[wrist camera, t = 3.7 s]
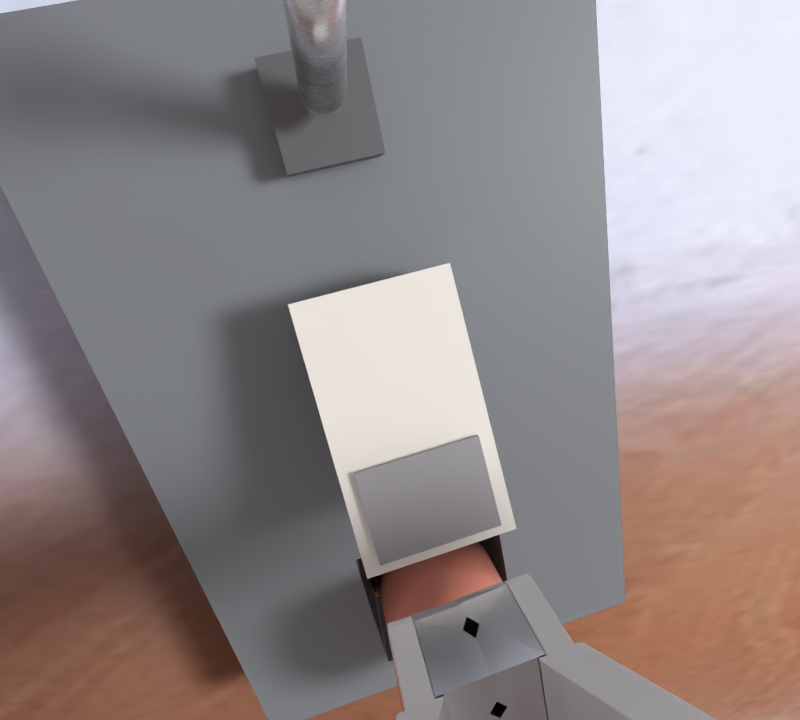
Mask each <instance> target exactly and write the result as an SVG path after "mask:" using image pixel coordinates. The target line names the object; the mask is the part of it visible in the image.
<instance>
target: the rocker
mask: <svg viewBox="0 0 800 720" xmlns="http://www.w3.org/2000/svg"><path fill="white" fill-rule="evenodd" d="M288 307H289V310H290V314H291V317H292V321H293V324H294V328H295V331H296V335H297V338H298V341H299V345H300V348H301V352H302V355H303V359H304V362H305V366H306V369H307V372H308V376H309V379H310V383H311V386H312V390H313V393H314V397H315V400H316V403H317V407H318V410H319V414H320V417H321V421H322V424H323V428H324V431H325V435H326V438H327V441H328V445H329V448H330V452H331V455H332V459H333V462H334V466H335V469H336V472H337V476H338V479H339V483H340V486H341V490H342V493H343V497H344V500H345V503H346V507H347V510H348V514H349V517H350V521H351V524H352V528H353V531H354V534H355V538H356V541H357V545H358V548H359V552H360V555H361V559H362V562H363V566H364V569H365V572H366V576H367V579H369V578H372V577H375V576H378V575H381V574H384V573H387V572H390V571H393V570H396V569H398V568H401V567H404V566H407V565H410V564H413V563H416V562H419V561H422V560H425V559H428V558H431V557H434V556H437V555H440V554H443V553H446V552H449V551H452V550H455V549H458V548H461V547H464V546H467V545H470V544H473V543H476V542H479V541H482V540H485V539H488V538H491V537H494V536H497V535H500V534H503V533H506V532H509V531H512V530H514V529H517V528H516V524H515V520H514V516H513V512H512V508H511V504H510V500H509V496H508V492H507V488H506V484H505V480H504V476H503V472H502V468H501V464H500V460H499V456H498V453H497V449H496V445H495V441H494V437H493V433H492V429H491V425H490V421H489V417H488V413H487V409H486V405H485V401H484V397H483V393H482V389H481V385H480V381H479V377H478V373H477V369H476V365H475V361H474V357H473V353H472V349H471V345H470V341H469V337H468V333H467V329H466V325H465V321H464V317H463V313H462V309H461V305H460V301H459V297H458V293H457V289H456V285H455V281H454V277H453V273H452V269H451V265H450V263H447V264H443V265H439V266H436V267H432V268H428V269H424V270H420V271H416V272H412V273H408V274H405V275H401V276H397V277H393V278H389V279H385V280H381V281H377V282H373V283H370V284H366V285H362V286H358V287H354V288H350V289H346V290H342V291H339V292H335V293H331V294H327V295H323V296H319V297H315V298H311V299H308V300H304V301H300V302H296V303H292V304H288Z"/></svg>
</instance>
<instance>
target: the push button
mask: <svg viewBox="0 0 800 720" xmlns="http://www.w3.org/2000/svg"><path fill="white" fill-rule="evenodd" d="M500 582H503V581H502V580H501V578H500V576H499V574H498V572H497V570H496V568H495V566H494V565H493V563H492V561H491V559H490V557H489V555H488V553H487V551H486V550H485V549H484V547H483V546H482V545H481V544H480V543H479V542H476V543H473V544H470V545H467V546H464V547H461V548H458V549H455V550H452V551H449V552H446V553H443V554H440V555H437V556H434V557H431V558H428V559H425V560H422V561H419V562H416V563H413V564H410V565H407V566H404V567H401V568H398V569H396V570H393V571H390V572H387V573H384V574H382V576H381V580H380V587H379V588H380V597H381V602H382V607H383V612H384V617H385V622H386V627H387V633H388V626H387V624H388V623H390V622H393V621H396V620H399V619H402V618H405V617H408V616H410V615H413V614H416V613H419V612H422V611H425V610H428V609H431V608H434V607H437V606H440V605H443V604H446V603H449V602H452V601H455V600H458V598H460V597H463V596H466V595H468V594H471V593H474V592H476V591H479V590H481V589H484V588H487V587H489V586H492V585H495V584H497V583H500ZM412 618H413V616H412ZM413 622H414V620H413ZM414 625H415V624H414ZM416 632H417V631H416ZM388 638H389V635H388ZM389 643H390V640H389ZM390 648H391V645H390ZM391 653H392V649H391ZM392 658H393V654H392ZM393 663H394V659H393ZM394 668H395V663H394ZM395 673H396V668H395ZM396 678H397V673H396ZM397 683H398V688H399V693H400V698H401V703H402V708H403V711H405V710H404V706H403V701H402V696H401V692H400V687H399V682H398V678H397Z"/></svg>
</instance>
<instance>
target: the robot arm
mask: <svg viewBox="0 0 800 720" xmlns="http://www.w3.org/2000/svg"><path fill="white" fill-rule="evenodd" d="M412 616H413V618H412ZM413 620H414V622H413ZM414 624H415V625H414ZM387 626H388V635H389V640H390V645H391V649H392V654H393V659H394V663H395V668H396V673H397V678H398V682H399V687H400V692H401V696H402V701H403V706H404V710H405V711H403V712H401V713H398V714H397V715H396V719H395V720H717V719H715V718H713V717H711V716H710V715H708V714H706V713H704V712H703V711H701V710H699V709H698V708H696V707H694V706H692V705H691V704H689V703H687V702H685V701H684V700H682V699H680V698H678V697H677V696H675V695H673V694H672V693H670V692H668V691H666V690H665V689H663V688H661V687H659V686H658V685H656V684H654V683H652V682H651V681H649V680H647V679H646V678H644V677H642V676H640V675H639V674H637V673H635V672H633V671H632V670H630V669H628V668H626V667H625V666H623V665H621V664H620V663H618V662H616V661H614V660H613V659H611V658H609V657H607V656H606V655H604V654H602V653H600V652H599V651H597V650H595V649H594V648H592V647H590V646H588V645H587V644H585V643H583V642H580V643H577V644H574V643H573V641H572V640H571V638H570V636H569V635H568V633H567V632H566V630H565V629H564V627H563V626H562V624H561V622H560V621H559V619H558V618H557V616H556V615H555V613H554V611H553V610H552V608H551V607H550V605H549V604H548V602H547V601H546V599H545V597H544V596H543V594H542V593H541V591H540V590H539V588H538V586H537V585H536V583H535V582H534V580H533V579H532V577H531V576H530V575H528V574H527V573H526V574H523V575H521V576H518V577H515V578H512V579H510V580H507V581H504V582H500V583H497V584H495V585H492V586H489V587H487V588H484V589H481V590H479V591H476V592H474V593H471V594H468V595H466V596H463V597H460V598H458V600H455V601H452V602H449V603H446V604H443V605H440V606H437V607H434V608H431V609H428V610H425V611H422V612H419V613H416V614H413V615H410V616H408V617H405V618H402V619H399V620H396V621H393V622H390V623H388V624H387ZM416 631H417V632H416Z"/></svg>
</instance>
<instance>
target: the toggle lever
mask: <svg viewBox="0 0 800 720" xmlns="http://www.w3.org/2000/svg"><path fill="white" fill-rule="evenodd" d="M282 2H283V7H284V13H285V18H286V24H287V29H288V35H289V41H290V46H291V52H292V57H293V63H294V69H295V74H296V80H297V85H298V91H299V95H300V98H301V101H302V103H303V104H304V106H305V107H306V108H307V109H308V110H309V111H310V112H311V113H312V114H314V115H316V116H320V117H329V116H333V115H335V114H336V113H338V112H339V111H340V110H341V108H342V107H343V105H344V103H345V100H346V95H347V41H346V0H282Z"/></svg>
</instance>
